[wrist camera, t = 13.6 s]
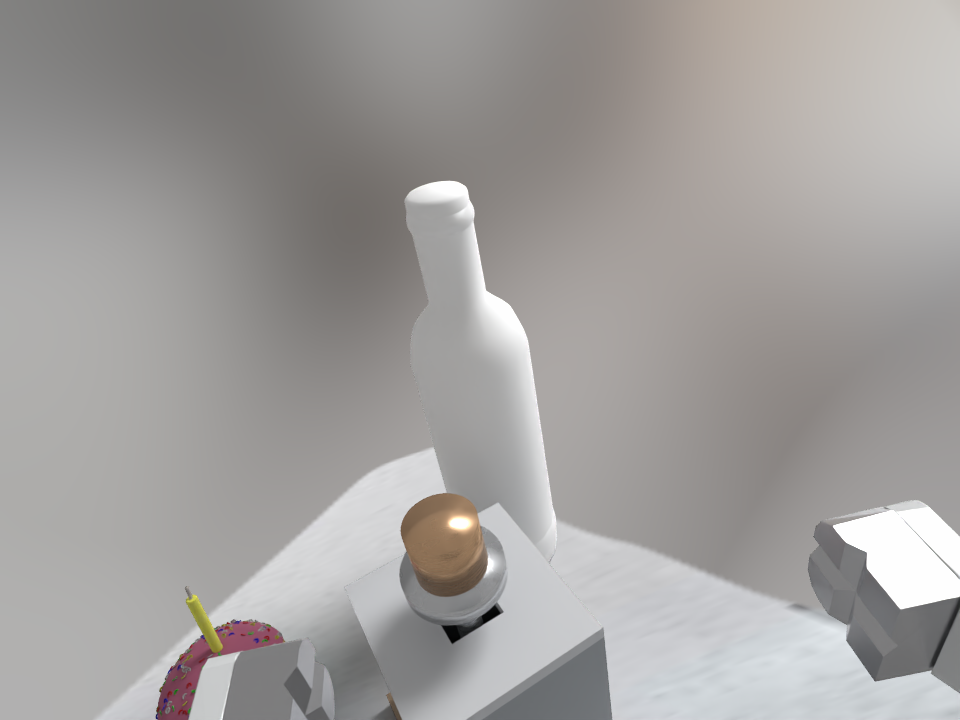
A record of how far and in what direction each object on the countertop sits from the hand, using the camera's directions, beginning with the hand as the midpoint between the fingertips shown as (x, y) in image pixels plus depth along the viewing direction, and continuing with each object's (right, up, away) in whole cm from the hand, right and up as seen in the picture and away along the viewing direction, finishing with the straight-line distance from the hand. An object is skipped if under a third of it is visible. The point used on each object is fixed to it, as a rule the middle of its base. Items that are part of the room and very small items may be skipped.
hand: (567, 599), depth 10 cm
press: (0, -19, +29) cm, 35 cm away
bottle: (+1, -11, +41) cm, 43 cm away
